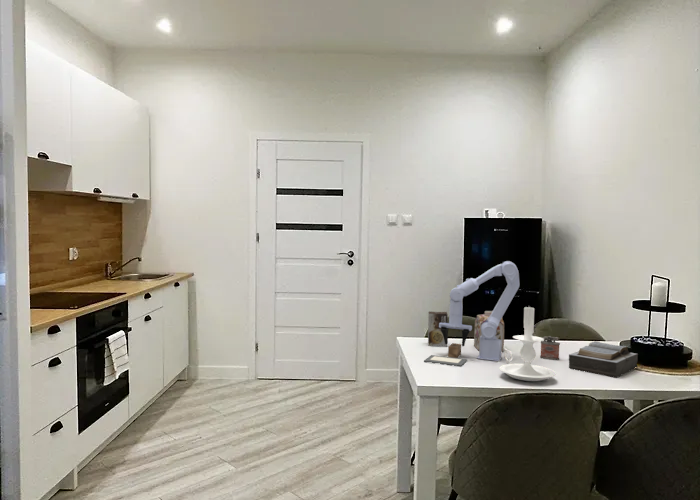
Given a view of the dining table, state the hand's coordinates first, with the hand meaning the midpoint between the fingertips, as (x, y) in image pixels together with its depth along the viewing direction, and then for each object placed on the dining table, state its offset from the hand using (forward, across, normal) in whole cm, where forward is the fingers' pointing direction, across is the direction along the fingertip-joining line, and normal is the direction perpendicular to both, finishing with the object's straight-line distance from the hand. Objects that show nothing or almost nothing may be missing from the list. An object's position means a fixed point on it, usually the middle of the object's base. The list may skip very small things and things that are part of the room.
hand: (454, 344), depth 243 cm
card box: (+5, 0, 0) cm, 5 cm away
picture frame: (+5, -1, -12) cm, 13 cm away
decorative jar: (+5, +11, +23) cm, 26 cm away
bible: (+5, +61, +9) cm, 62 cm away
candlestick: (+5, +32, -22) cm, 39 cm away
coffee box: (+5, -13, +19) cm, 24 cm away
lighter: (+5, +39, +16) cm, 43 cm away
